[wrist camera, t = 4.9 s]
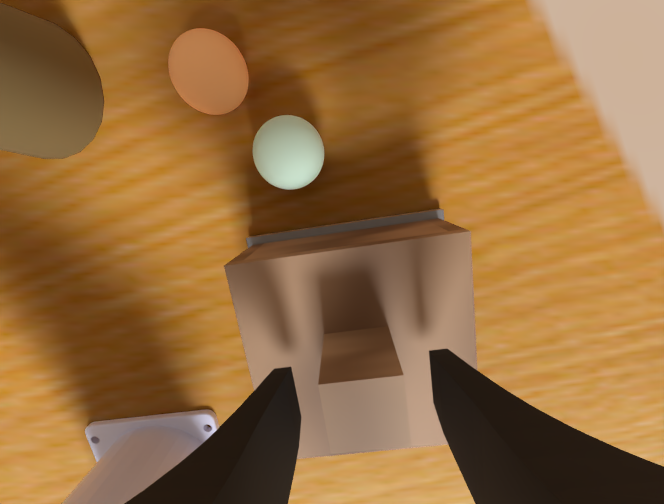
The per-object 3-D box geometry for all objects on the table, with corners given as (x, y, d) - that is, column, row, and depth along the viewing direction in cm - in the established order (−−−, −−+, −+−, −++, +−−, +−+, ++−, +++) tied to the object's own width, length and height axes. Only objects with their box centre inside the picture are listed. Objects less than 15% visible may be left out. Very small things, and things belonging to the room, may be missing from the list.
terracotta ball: (263, 115, 14) (242, 98, 11) (200, 125, 14) (164, 112, 11) (249, 42, 13) (223, 3, 10) (183, 54, 14) (140, 20, 11)
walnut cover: (438, 218, 14) (518, 250, 8) (450, 383, 16) (522, 519, 10) (252, 245, 15) (183, 295, 8) (286, 401, 17) (251, 539, 10)
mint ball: (330, 183, 15) (327, 184, 12) (269, 192, 15) (252, 196, 12) (320, 117, 14) (315, 100, 11) (256, 127, 14) (234, 114, 11)
